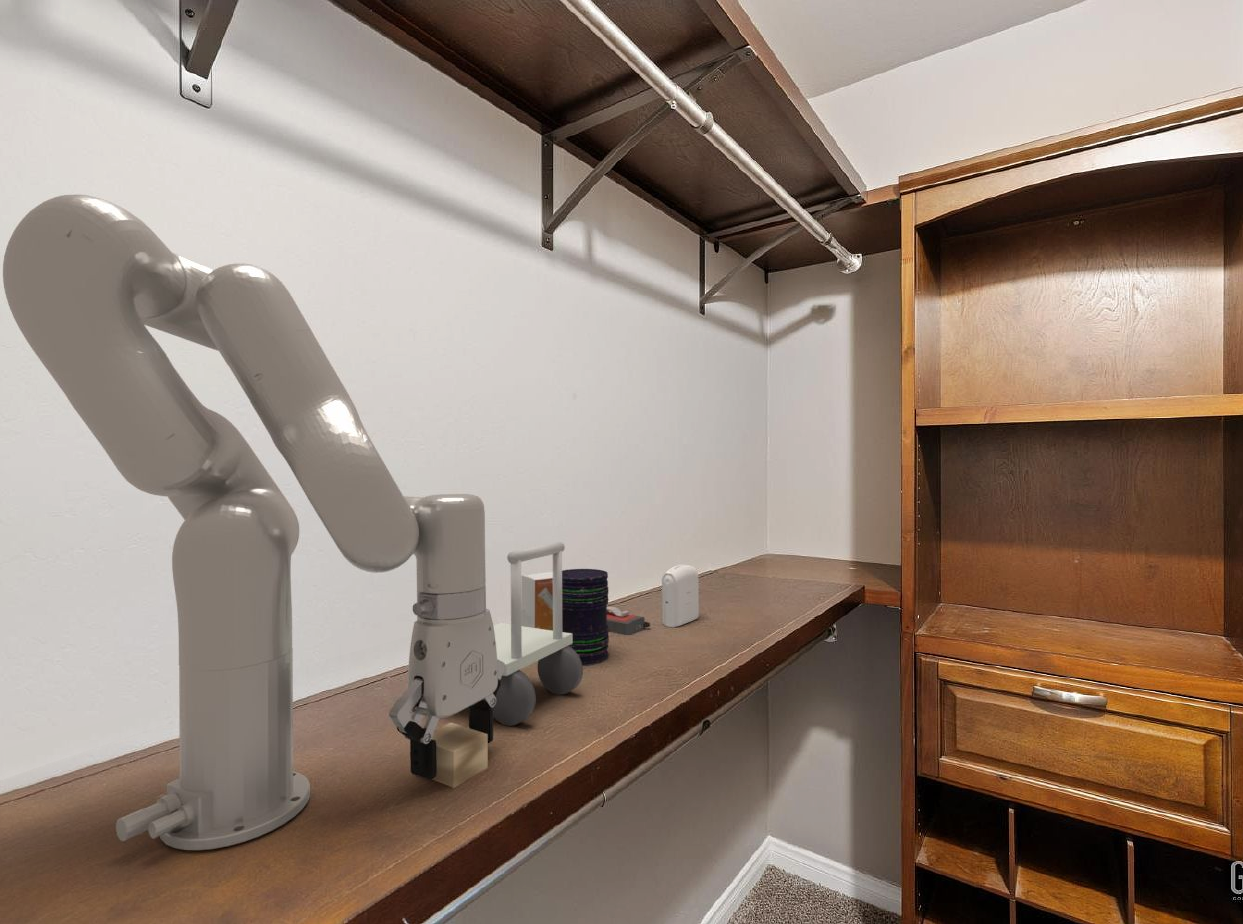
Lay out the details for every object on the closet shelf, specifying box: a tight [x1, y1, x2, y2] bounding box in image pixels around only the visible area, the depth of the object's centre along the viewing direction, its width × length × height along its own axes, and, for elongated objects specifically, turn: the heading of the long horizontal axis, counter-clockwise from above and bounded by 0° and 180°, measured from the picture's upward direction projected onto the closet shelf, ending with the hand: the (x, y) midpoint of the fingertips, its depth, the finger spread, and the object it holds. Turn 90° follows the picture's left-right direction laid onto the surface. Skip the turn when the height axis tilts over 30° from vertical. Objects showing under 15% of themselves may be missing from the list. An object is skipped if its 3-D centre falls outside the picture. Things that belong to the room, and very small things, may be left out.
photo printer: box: [661, 564, 700, 628], centre depth 132 cm, size 10×4×12 cm, turn 141°
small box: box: [521, 571, 553, 631], centre depth 118 cm, size 8×6×13 cm
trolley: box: [491, 541, 584, 727], centre depth 89 cm, size 16×19×23 cm
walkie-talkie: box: [607, 605, 651, 636], centre depth 130 cm, size 9×4×20 cm
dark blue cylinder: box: [562, 568, 610, 667], centre depth 108 cm, size 10×10×15 cm
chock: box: [431, 722, 489, 789], centre depth 68 cm, size 5×6×4 cm
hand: (453, 756), depth 68 cm, fingers open, 8 cm apart
